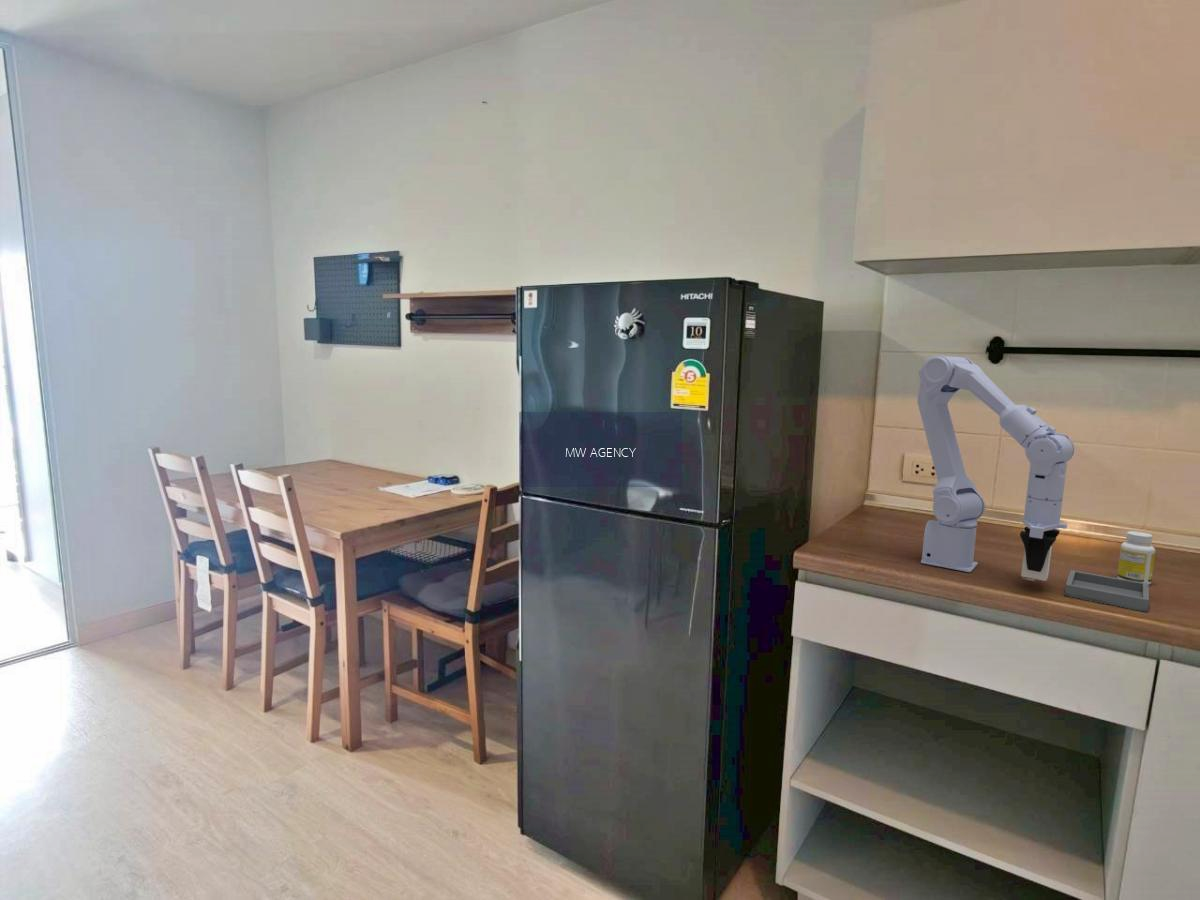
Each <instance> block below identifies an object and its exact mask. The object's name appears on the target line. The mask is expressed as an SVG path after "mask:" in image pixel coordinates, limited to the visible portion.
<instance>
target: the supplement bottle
mask: <svg viewBox="0 0 1200 900" xmlns="http://www.w3.org/2000/svg"><path fill="white" fill-rule="evenodd" d="M1125 537H1126V538H1125V539H1126V540H1127V541H1125V542H1123V543H1121V545H1120V549H1119V550H1120V551H1119V559H1118V566H1117V567H1118V568H1117V577H1116V578H1119V579H1124V580H1130V581H1136V582H1141V583H1147V584H1148V586H1150V585H1151V584H1152V581H1153V572H1154V565H1155V556H1156V548H1155V547H1154V546H1153V545H1151V543H1152V542H1153V535H1152V534H1151V533H1148V532H1147V533H1146V532H1141V531H1135V530H1134V531H1127V532H1126V536H1125Z"/></svg>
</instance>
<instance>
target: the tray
mask: <svg viewBox="0 0 1200 900" xmlns="http://www.w3.org/2000/svg"><path fill="white" fill-rule="evenodd" d="M1063 594H1064V595H1066V596H1065V597H1067V596H1071V597H1070V598H1072V597H1074V598H1073V599H1077V598H1080V599H1079V600H1082V599H1085V600H1084V601H1087V600H1091V601H1090V602H1092V601H1095V602H1094V603H1097V602H1100V603H1099V604H1102V603H1104V604H1103V605H1107V604H1110V605H1109V606H1112V605H1114V606H1113V607H1117V606H1120V607H1119V608H1122V607H1124V608H1123V609H1127V608H1128V609H1127V610H1132V609H1133V610H1134V611H1138V612H1143V613H1148V610H1149V609H1148V608H1149V603H1150V589H1149V585H1148V584H1147V583H1141V582H1136V581H1130V580H1124V579H1119V578H1117V577H1112V576H1108V575H1107V576H1105V575H1102V574H1094V573H1090V572H1083V571H1078V570H1073V569H1070V572H1069V574H1068V577H1067V580H1066V583H1065V587H1064V593H1063ZM1064 595H1063V596H1064Z"/></svg>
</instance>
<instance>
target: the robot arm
mask: <svg viewBox="0 0 1200 900" xmlns="http://www.w3.org/2000/svg"><path fill="white" fill-rule="evenodd" d="M918 376H919V379H920V382H919V386H918V387H919V388H918V389H919V390H918V393H917V406H918V410H919V413H920V418H921V422H922V424H923V429H924V432H925V436H926V441H927V445H928V448H929V452H930V455H931V459H932V463H933V468H934V471H935V474H936V475H935V476H936V480H937V482H936V484H935V486H934V487H933V488H932V495H933V502H932V512H933V513H932V514H933V515H934V517H935V518H936V519H937V520H935V519H934V520H932V519H928V521H927V522H926V524H925V528H924V535H923V540H922V541H923V542H922V553H921V560H920V563H921V564H925V565H930V566H935V567H939V568H944V569H950V570H956V571H961V572H966V573H971V572H973V570H974V569H975V568H976V567H977V565H978V563H979V562H977V561H974V555H975V546H976V538H977V536H976V535H977V526H978V519H979V518H981V517H982V516H983V514H984V513H985V510H986V503H985V502H986V501H985V500H984V498H983V497H982V495H981V494H980V492H978V490H977V487H976V484H975V482H973V480H971V479H970V478H969V476H967V473H966V469H965V466H964V462H963V458H962V455H961V451H960V448H959V444H958V440H957V436H956V433H955V429H954V425H953V422H952V417H951V414H950V409H949V407H948V406H949V405H948V404H949V402H950V401H951V400H952V398H953V396H954V395H955V394H956V393H958V392H959V391H960V390H967V391H970V392H971V393H972V394H973V395H974V396H975V397H976V398H977V399H979V400H980V401H981V402H982V403H983V404H985V405H986V406H987V407H989V408H990V410H992V411H993V412H994V413H995V414H996V415H998V417H999V425H1000V427H1001V428H1002V429H1003V430H1004V431H1005V432H1006V433H1007V434H1008V435H1009V436H1010V437H1012V438H1013V440H1015V441H1016V442H1017V443H1018V444H1019V445H1020V446H1021V447H1022V448H1023V449H1024V452H1025V456H1026V458H1027V460H1028V461H1029V464H1030V466H1029V472H1028V480H1027V490H1026V496H1025V497H1026V498H1025V505H1024V513H1023V514H1024V515H1023V518H1022V519H1021V523H1022V524H1024V526H1025V527H1024V528H1023V530H1024V531H1023V530H1021V531H1020V533H1019V536H1020V539H1021V541H1022V544H1023V546H1024V548H1025V552H1026V562H1027V568H1028V570H1032V571H1037V572H1041V570H1042V568H1043V565H1044V562H1045V559H1046V556H1047V553H1048V551H1049V549H1050V547H1051V545H1052V546H1053V544H1054V543H1055V542H1056V540H1057V537H1058V536H1059V534H1060V530H1059V529H1068V528H1067V527H1068V523H1066V522H1061V515H1062V507H1063V499H1064V492H1065V491H1064V490H1065V482H1066V476H1067V475H1066V473H1067V467H1068V463H1067V462H1069V461H1070V460H1071V459H1072V458H1073V456H1074V454H1075V446H1074V443H1073V442H1072V440H1071V439H1070V438H1069V436H1068V434H1067V435H1066V434H1064V433H1060V432H1059V433H1058V432H1055V431H1056V430H1057V429H1056V428H1055V427H1054V426H1053V425H1048V424H1047V423H1046V422H1045V421H1044V420H1043V419H1041V417H1039V416H1038V415H1037V414H1036V413H1037V412H1038V410H1037V409H1036V408H1035V407H1033V406H1027V405H1026V404H1015V403H1014V402H1013V401H1012V400H1011V399H1010V397H1008V396H1007V394H1005V393H1004V392H1003V391H1002V390H1001V389H1000V388H999V386H997V385H996V384H995V383H994V382H993V381H992V380H991V379H990V377H988V375H986V374H985V373H984V372H983V370H982V368H981V367H980V366H979V365H977V364H976V363H974V362H973V361H972V360H971V359H970V358H968V357H967V356H963V355H962V356H961V355H959V356H947V355H941V354H935V355H933V356H930V357H928V358H927V360H925V362H924V363H923V365H922V366H921V368H920V370H919V371H918Z"/></svg>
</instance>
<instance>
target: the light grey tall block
mask: <svg viewBox="0 0 1200 900" xmlns="http://www.w3.org/2000/svg"><path fill="white" fill-rule="evenodd" d="M1052 548H1053V544H1052V545H1051V547H1050V549H1049V551H1048V553H1047V556H1046V559H1045V562H1044V565H1043V568H1042V570H1041V572H1037V571H1032V570H1028V568H1027V562H1026V552H1025V547H1024V548H1023V549H1024V550H1023V556H1022V557H1023V558H1022V564H1021V565H1022V566H1021V574H1020V576H1021V577H1024V578H1028V579H1034V580H1039V581H1044V582H1046V581H1048V577H1049V573H1050V565H1051V564H1050V563H1051V557H1052V550H1053V549H1052Z"/></svg>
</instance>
